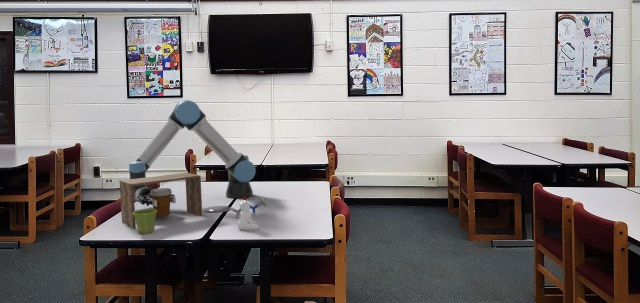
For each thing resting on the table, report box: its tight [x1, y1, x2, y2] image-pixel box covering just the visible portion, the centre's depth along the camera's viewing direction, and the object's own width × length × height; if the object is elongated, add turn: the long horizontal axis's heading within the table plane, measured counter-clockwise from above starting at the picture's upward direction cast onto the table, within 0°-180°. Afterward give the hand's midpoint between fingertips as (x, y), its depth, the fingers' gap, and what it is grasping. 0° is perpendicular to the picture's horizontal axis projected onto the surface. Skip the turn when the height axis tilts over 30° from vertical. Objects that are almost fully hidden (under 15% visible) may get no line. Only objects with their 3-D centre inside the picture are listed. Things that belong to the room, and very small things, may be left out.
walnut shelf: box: [119, 172, 203, 229], centre depth 211 cm, size 14×32×19 cm, turn 132°
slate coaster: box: [202, 205, 232, 214], centre depth 229 cm, size 14×14×1 cm
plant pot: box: [133, 208, 157, 235], centre depth 189 cm, size 9×9×9 cm
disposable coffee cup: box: [150, 187, 173, 218], centre depth 212 cm, size 10×10×12 cm
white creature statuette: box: [236, 200, 260, 231], centre depth 191 cm, size 10×9×12 cm
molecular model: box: [229, 195, 269, 220], centre depth 213 cm, size 18×8×10 cm, turn 110°
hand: (165, 201), depth 208 cm, fingers closed on disposable coffee cup, 8 cm apart
